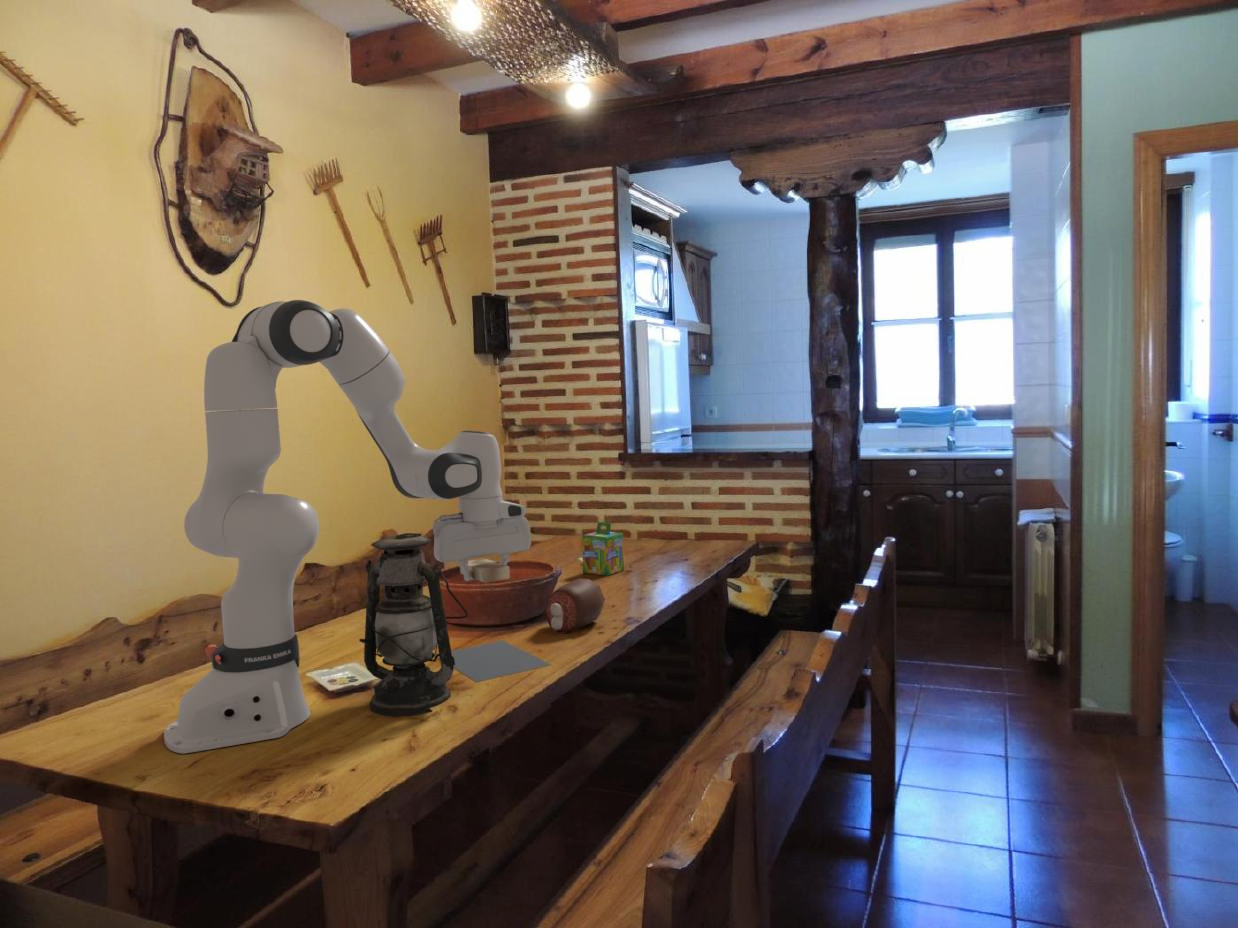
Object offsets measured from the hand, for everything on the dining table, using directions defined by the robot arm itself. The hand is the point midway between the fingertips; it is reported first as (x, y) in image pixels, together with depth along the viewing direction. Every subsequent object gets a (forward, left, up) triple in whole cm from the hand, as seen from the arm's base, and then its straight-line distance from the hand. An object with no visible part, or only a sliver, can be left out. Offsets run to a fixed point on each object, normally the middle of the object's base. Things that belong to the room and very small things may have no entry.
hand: (485, 577), depth 179 cm
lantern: (-20, -13, -17) cm, 29 cm away
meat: (+26, +9, -17) cm, 32 cm away
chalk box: (+63, +56, -17) cm, 86 cm away
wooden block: (0, -6, +2) cm, 6 cm away
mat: (-1, -3, -17) cm, 17 cm away
